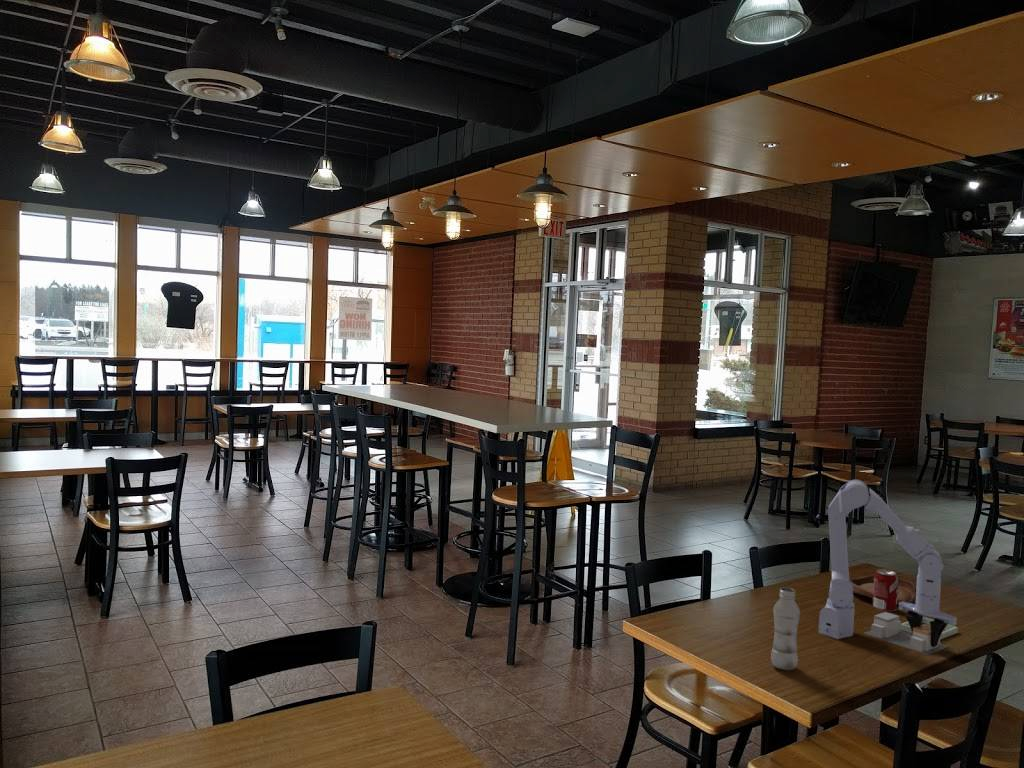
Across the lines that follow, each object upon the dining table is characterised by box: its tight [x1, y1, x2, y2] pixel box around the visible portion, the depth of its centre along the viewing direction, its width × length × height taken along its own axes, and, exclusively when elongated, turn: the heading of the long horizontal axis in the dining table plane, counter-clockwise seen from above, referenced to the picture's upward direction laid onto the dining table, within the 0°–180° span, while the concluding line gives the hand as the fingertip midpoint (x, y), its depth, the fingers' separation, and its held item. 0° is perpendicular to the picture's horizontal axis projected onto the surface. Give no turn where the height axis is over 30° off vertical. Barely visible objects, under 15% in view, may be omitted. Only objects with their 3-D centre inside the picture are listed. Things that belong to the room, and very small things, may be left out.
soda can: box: [872, 569, 899, 613], centre depth 238 cm, size 7×7×12 cm
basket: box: [850, 573, 916, 606], centre depth 251 cm, size 22×20×5 cm
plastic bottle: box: [770, 587, 801, 671], centre depth 190 cm, size 6×7×20 cm
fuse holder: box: [863, 620, 949, 656], centre depth 210 cm, size 11×18×4 cm, turn 35°
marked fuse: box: [912, 623, 938, 651], centre depth 206 cm, size 6×4×5 cm, turn 125°
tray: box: [900, 616, 959, 640], centre depth 218 cm, size 12×10×2 cm
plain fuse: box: [873, 611, 900, 637], centre depth 215 cm, size 6×4×5 cm, turn 125°
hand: (925, 643), depth 206 cm, fingers open, 4 cm apart
